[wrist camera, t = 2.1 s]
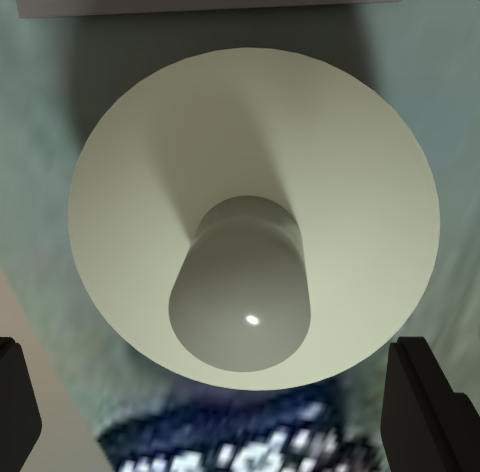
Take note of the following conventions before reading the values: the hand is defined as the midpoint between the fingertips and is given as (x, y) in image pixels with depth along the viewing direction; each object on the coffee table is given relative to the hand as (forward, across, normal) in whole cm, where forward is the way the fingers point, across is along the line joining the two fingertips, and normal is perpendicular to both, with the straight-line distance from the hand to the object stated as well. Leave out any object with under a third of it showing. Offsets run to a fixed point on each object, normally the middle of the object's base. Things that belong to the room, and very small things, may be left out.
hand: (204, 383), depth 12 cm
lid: (+9, -1, 0) cm, 9 cm away
